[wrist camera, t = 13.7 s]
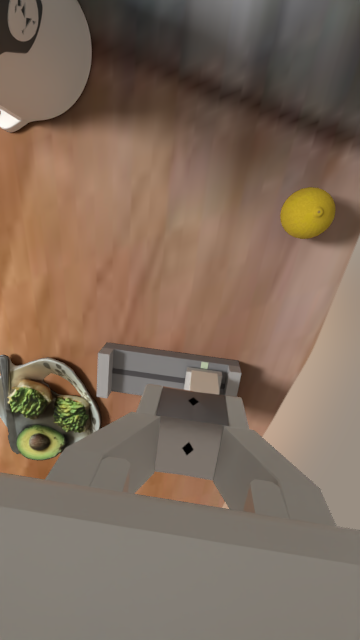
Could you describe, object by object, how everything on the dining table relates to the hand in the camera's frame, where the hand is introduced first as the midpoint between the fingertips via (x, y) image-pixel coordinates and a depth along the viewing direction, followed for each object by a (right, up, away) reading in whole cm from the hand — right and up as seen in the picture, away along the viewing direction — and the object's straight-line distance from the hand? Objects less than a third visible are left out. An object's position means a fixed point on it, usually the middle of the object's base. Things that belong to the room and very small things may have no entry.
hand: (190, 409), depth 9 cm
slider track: (-2, -5, +36) cm, 37 cm away
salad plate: (-22, -12, +41) cm, 48 cm away
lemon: (+15, +16, +29) cm, 36 cm away
